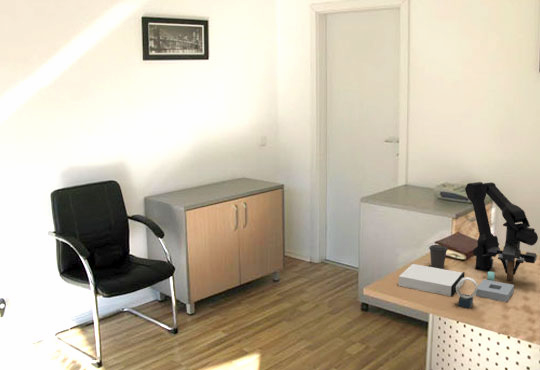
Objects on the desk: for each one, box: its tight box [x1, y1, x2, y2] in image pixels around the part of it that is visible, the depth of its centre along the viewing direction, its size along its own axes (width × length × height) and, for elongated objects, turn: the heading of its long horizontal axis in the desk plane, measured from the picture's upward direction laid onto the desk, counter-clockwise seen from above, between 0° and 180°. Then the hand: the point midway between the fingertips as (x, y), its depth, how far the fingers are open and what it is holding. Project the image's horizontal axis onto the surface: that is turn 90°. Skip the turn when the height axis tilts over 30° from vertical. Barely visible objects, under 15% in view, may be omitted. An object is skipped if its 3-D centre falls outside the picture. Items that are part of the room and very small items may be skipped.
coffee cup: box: [428, 244, 448, 269], centre depth 274 cm, size 8×8×10 cm
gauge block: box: [475, 278, 515, 303], centre depth 245 cm, size 12×12×3 cm
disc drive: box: [398, 263, 466, 298], centre depth 255 cm, size 18×22×5 cm
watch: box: [455, 276, 479, 310], centre depth 234 cm, size 6×8×11 cm
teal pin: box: [486, 270, 496, 281], centre depth 255 cm, size 3×3×5 cm
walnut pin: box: [505, 259, 516, 283], centre depth 258 cm, size 3×3×9 cm
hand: (510, 273), depth 258 cm, fingers closed on walnut pin, 3 cm apart
